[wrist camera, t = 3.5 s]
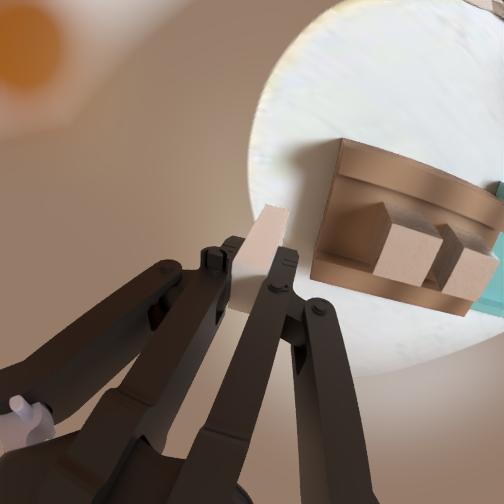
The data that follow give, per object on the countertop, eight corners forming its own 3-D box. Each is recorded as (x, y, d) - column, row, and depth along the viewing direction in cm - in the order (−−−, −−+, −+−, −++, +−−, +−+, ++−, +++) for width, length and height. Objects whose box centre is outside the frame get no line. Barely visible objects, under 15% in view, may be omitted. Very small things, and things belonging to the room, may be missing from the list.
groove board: (495, 195, 18) (518, 214, 14) (452, 288, 24) (463, 316, 20) (342, 137, 20) (344, 145, 17) (313, 251, 26) (309, 279, 23)
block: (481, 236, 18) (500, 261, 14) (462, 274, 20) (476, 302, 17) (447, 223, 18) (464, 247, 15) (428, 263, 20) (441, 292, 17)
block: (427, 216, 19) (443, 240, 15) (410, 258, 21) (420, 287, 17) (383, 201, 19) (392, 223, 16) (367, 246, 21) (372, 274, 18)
